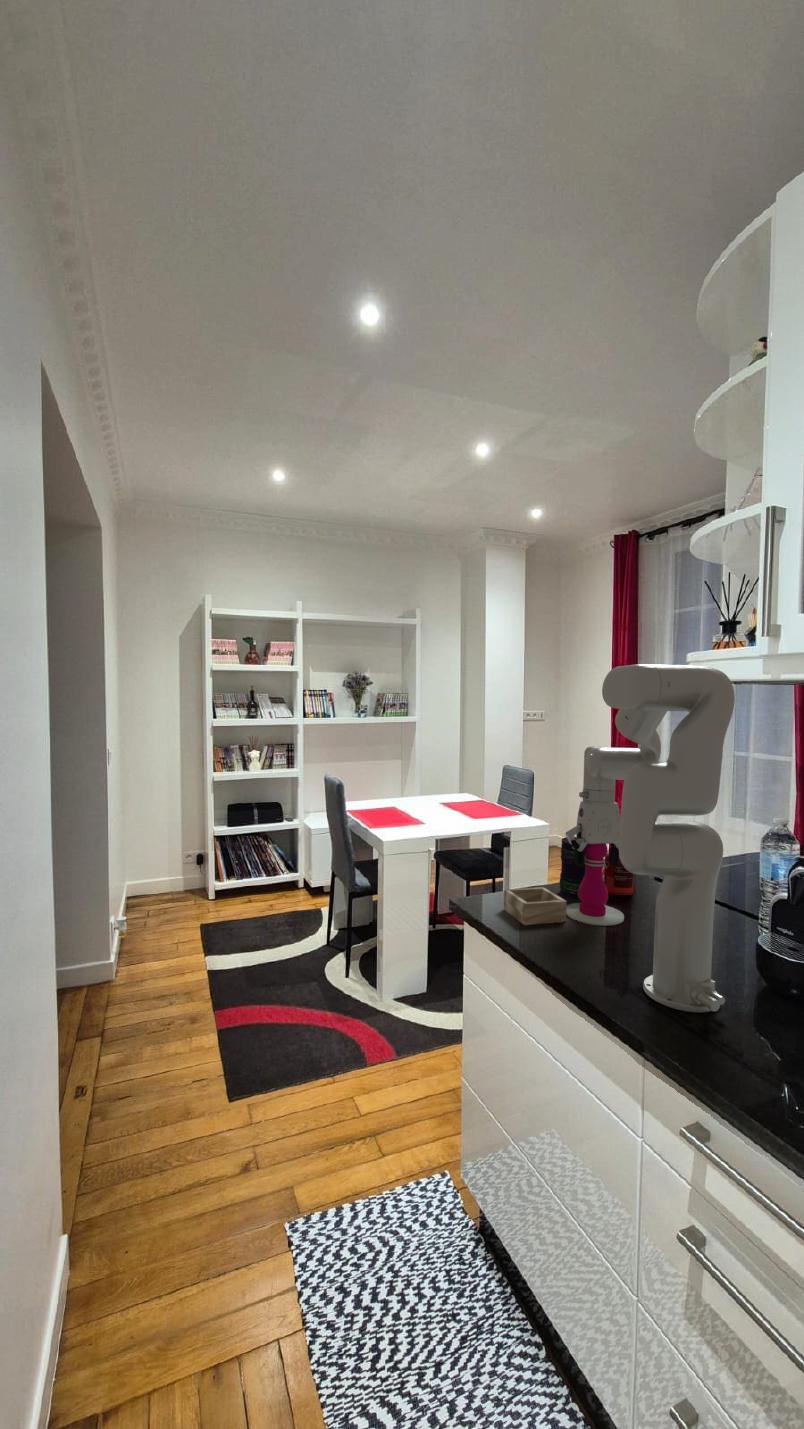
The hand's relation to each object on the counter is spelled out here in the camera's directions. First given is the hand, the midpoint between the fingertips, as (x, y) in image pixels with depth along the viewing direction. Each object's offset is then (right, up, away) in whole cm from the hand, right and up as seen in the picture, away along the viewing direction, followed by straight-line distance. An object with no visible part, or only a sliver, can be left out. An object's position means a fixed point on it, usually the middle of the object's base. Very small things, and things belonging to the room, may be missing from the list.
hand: (596, 865), depth 150 cm
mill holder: (-16, -12, -1) cm, 20 cm away
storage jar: (0, -12, +16) cm, 21 cm away
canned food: (+13, -13, +20) cm, 27 cm away
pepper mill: (-1, -12, 0) cm, 12 cm away
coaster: (0, -13, +1) cm, 13 cm away
